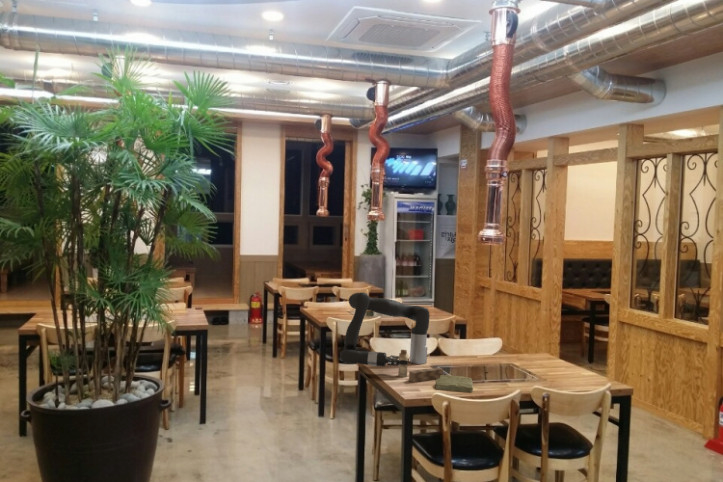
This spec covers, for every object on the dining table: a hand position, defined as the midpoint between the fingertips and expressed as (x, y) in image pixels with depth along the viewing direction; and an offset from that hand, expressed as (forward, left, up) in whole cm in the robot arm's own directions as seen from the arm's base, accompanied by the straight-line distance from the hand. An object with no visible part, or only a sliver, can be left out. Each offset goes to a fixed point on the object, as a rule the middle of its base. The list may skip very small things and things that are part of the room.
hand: (408, 361), depth 338 cm
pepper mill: (+2, -2, -8) cm, 8 cm away
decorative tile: (-10, +25, -9) cm, 29 cm away
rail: (-5, +9, -8) cm, 13 cm away
